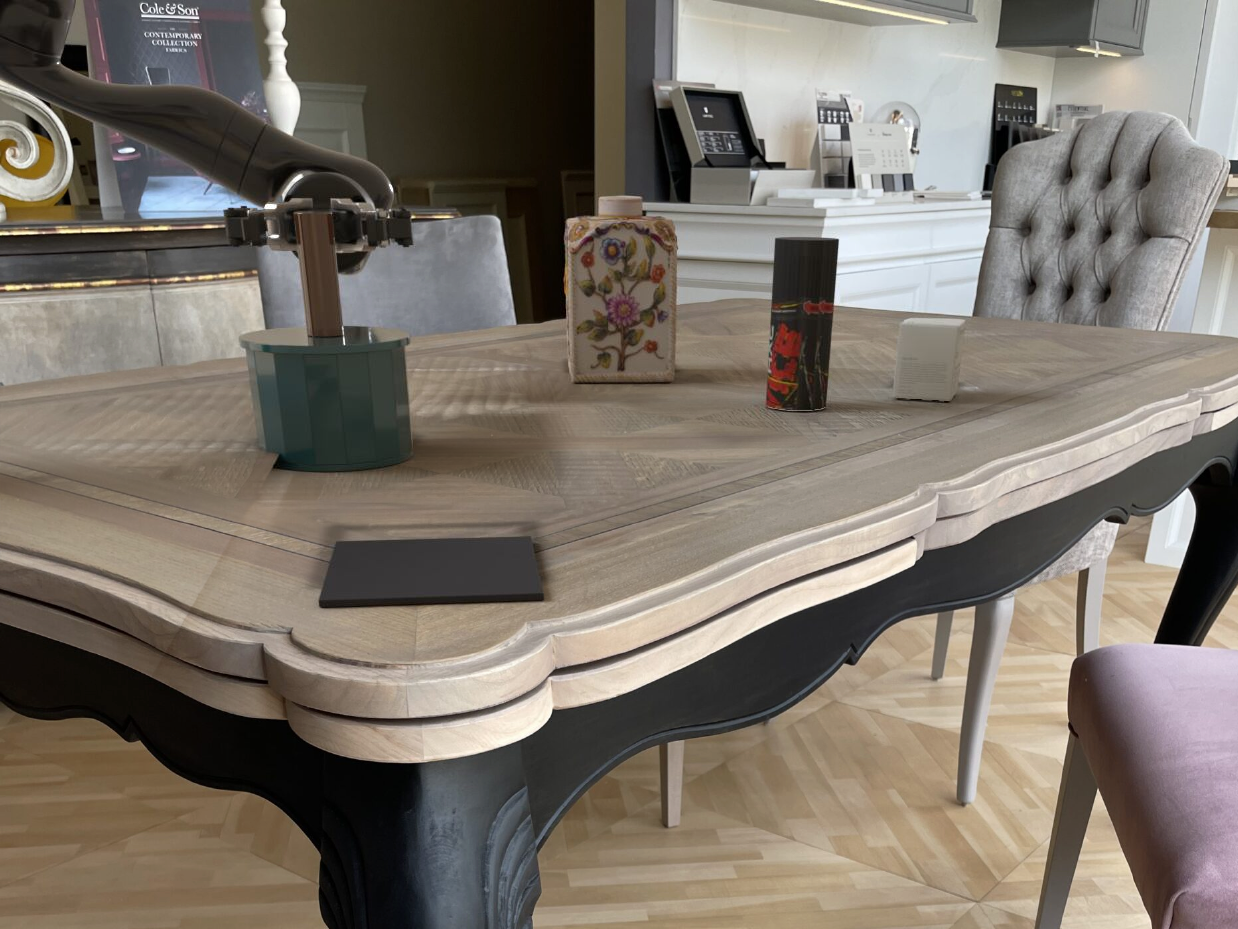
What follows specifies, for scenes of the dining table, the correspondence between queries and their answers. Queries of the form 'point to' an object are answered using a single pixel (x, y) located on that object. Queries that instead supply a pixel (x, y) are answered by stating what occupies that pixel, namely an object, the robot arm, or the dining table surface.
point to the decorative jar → (621, 294)
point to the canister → (332, 409)
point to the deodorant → (801, 322)
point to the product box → (928, 358)
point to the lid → (321, 303)
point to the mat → (431, 572)
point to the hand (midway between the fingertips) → (313, 230)
